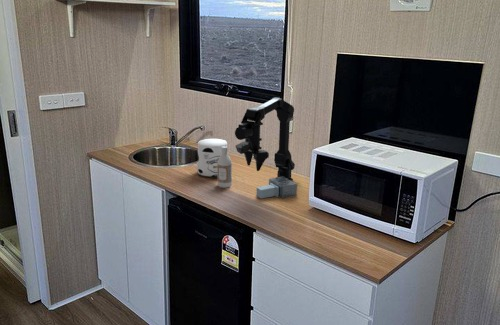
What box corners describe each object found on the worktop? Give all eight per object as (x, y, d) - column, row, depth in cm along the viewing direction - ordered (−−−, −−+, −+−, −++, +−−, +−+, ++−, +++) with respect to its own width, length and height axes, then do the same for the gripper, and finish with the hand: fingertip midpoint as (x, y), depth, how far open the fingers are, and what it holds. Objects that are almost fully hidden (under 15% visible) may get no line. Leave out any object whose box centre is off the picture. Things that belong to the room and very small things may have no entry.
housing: (282, 187, 216) (282, 176, 215) (296, 195, 206) (297, 183, 205) (268, 190, 213) (269, 178, 211) (282, 198, 203) (282, 186, 201)
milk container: (217, 182, 223) (217, 148, 217) (190, 176, 231) (189, 143, 226) (235, 172, 237) (235, 140, 232) (208, 167, 245) (208, 136, 240)
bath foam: (215, 187, 216) (215, 148, 210) (220, 182, 222) (220, 144, 216) (228, 188, 214) (228, 149, 208) (233, 184, 220) (233, 145, 214)
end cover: (283, 189, 214) (284, 180, 212) (291, 193, 208) (291, 184, 207) (255, 195, 206) (255, 186, 204) (262, 199, 200) (262, 190, 199)
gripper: (229, 133, 204) (229, 164, 209) (247, 142, 188) (247, 176, 193) (250, 130, 209) (249, 161, 214) (269, 139, 193) (268, 173, 198)
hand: (253, 168), depth 204 cm, fingers open, 9 cm apart
